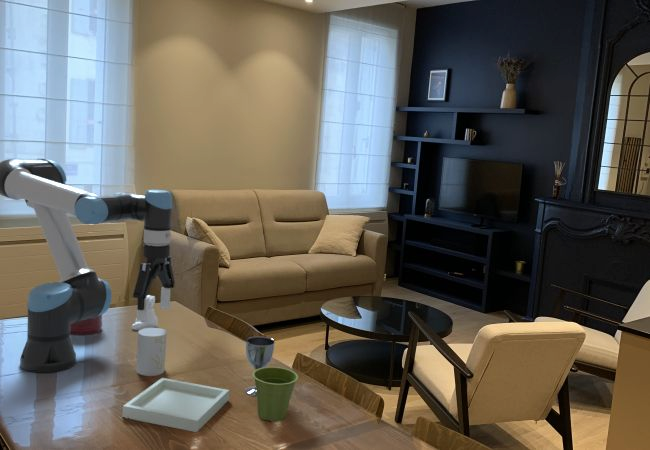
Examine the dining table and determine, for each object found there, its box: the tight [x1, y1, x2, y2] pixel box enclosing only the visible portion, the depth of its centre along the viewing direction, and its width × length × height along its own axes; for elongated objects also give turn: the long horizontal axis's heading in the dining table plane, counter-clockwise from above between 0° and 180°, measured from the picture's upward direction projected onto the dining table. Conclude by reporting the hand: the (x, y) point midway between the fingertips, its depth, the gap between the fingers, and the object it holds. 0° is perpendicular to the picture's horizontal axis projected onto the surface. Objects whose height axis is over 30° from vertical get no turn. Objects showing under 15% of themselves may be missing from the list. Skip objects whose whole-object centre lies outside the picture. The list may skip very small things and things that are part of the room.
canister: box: [70, 314, 103, 336], centre depth 216 cm, size 13×13×18 cm
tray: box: [122, 377, 230, 433], centre depth 163 cm, size 20×20×3 cm
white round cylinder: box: [136, 327, 168, 377], centre depth 186 cm, size 8×8×12 cm
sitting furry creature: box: [131, 294, 159, 331], centre depth 226 cm, size 10×9×12 cm
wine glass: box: [243, 335, 276, 398], centre depth 177 cm, size 8×8×15 cm
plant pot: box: [252, 366, 299, 422], centre depth 163 cm, size 12×12×11 cm
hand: (153, 314), depth 184 cm, fingers open, 13 cm apart
